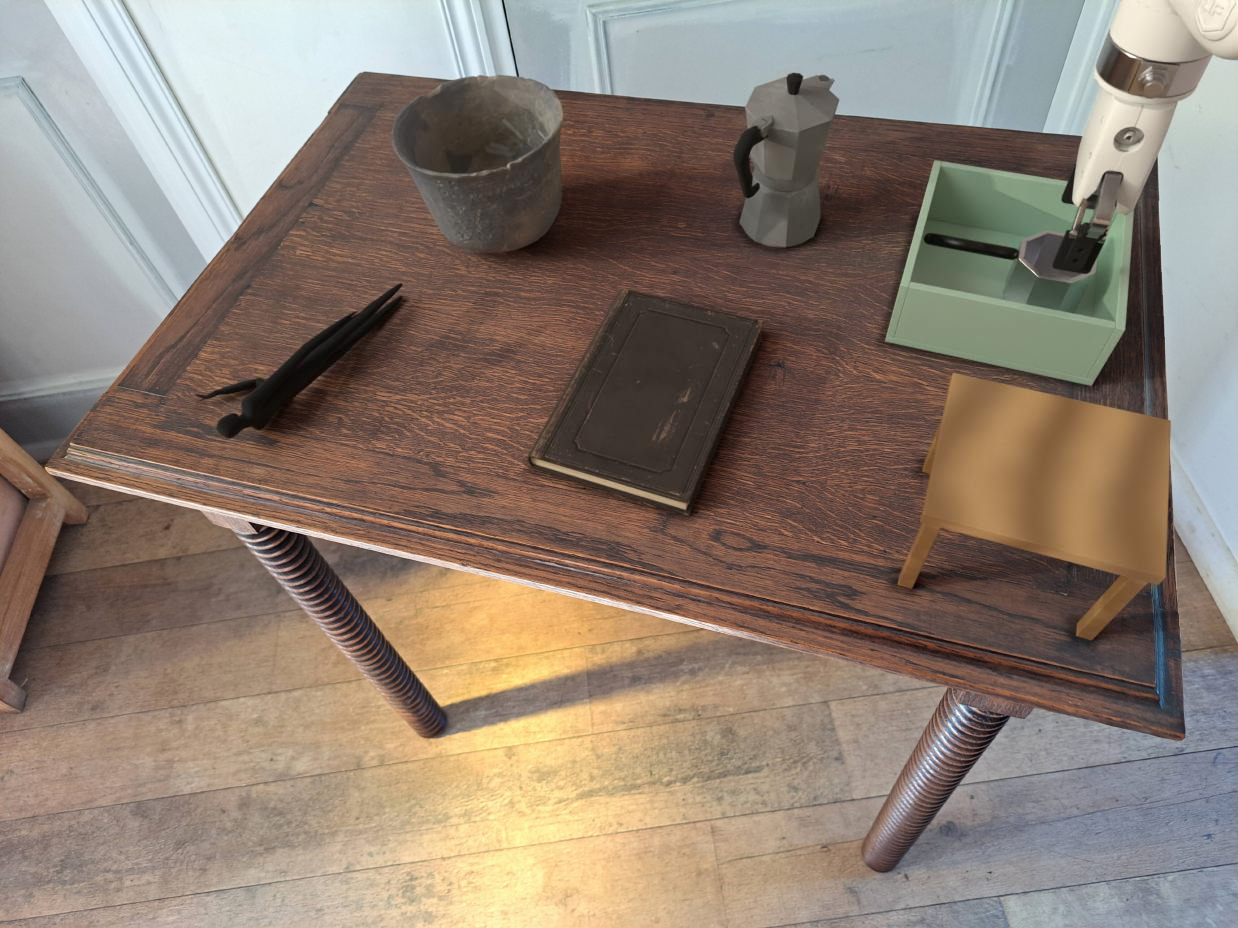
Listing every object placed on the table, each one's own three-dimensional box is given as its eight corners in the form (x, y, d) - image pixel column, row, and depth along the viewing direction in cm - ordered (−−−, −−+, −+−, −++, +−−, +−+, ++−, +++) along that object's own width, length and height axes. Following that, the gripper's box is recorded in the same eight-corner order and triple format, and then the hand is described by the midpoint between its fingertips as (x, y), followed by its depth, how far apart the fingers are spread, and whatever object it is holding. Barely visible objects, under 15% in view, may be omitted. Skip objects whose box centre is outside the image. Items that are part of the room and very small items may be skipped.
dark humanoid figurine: (349, 229, 92) (155, 370, 80) (410, 275, 91) (223, 426, 79) (353, 277, 99) (175, 413, 87) (410, 321, 98) (239, 465, 86)
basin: (1104, 251, 92) (1135, 191, 85) (1091, 386, 82) (1125, 329, 75) (918, 218, 97) (934, 160, 90) (884, 341, 87) (900, 285, 80)
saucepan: (1078, 281, 89) (1099, 239, 84) (1072, 328, 85) (1094, 287, 80) (919, 251, 93) (931, 209, 88) (907, 295, 89) (919, 254, 85)
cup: (537, 303, 94) (513, 190, 81) (399, 269, 98) (357, 158, 86) (599, 201, 102) (586, 85, 90) (470, 175, 107) (441, 61, 95)
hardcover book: (762, 336, 88) (764, 320, 87) (688, 516, 77) (688, 502, 75) (619, 302, 93) (618, 286, 91) (529, 467, 81) (525, 453, 79)
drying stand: (1107, 503, 75) (1171, 420, 65) (1096, 646, 67) (1166, 577, 58) (920, 457, 79) (953, 372, 69) (891, 587, 72) (923, 513, 62)
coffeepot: (781, 177, 103) (796, 30, 88) (847, 209, 99) (875, 60, 84) (698, 245, 97) (699, 100, 82) (764, 282, 93) (778, 137, 78)
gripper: (1206, 130, 61) (1112, 305, 75) (1205, 10, 70) (1121, 186, 84) (1092, 116, 63) (1022, 289, 77) (1106, 1, 72) (1040, 174, 86)
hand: (1074, 235), depth 80 cm, fingers open, 9 cm apart
